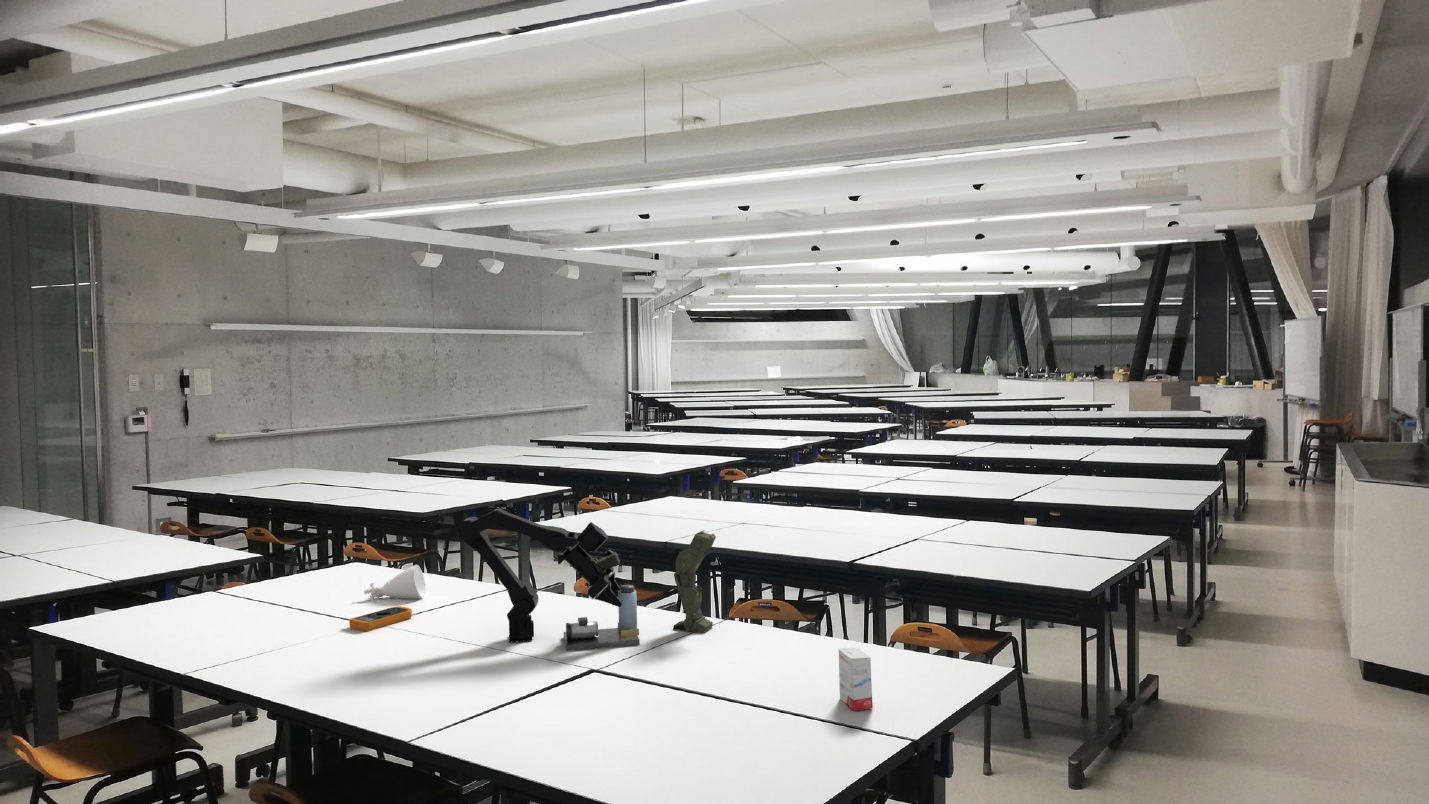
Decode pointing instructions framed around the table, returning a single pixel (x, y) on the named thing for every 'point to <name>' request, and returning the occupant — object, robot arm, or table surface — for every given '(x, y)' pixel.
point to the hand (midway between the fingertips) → (622, 601)
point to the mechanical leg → (692, 583)
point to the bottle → (627, 608)
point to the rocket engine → (401, 586)
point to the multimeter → (380, 618)
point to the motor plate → (602, 640)
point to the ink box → (855, 678)
